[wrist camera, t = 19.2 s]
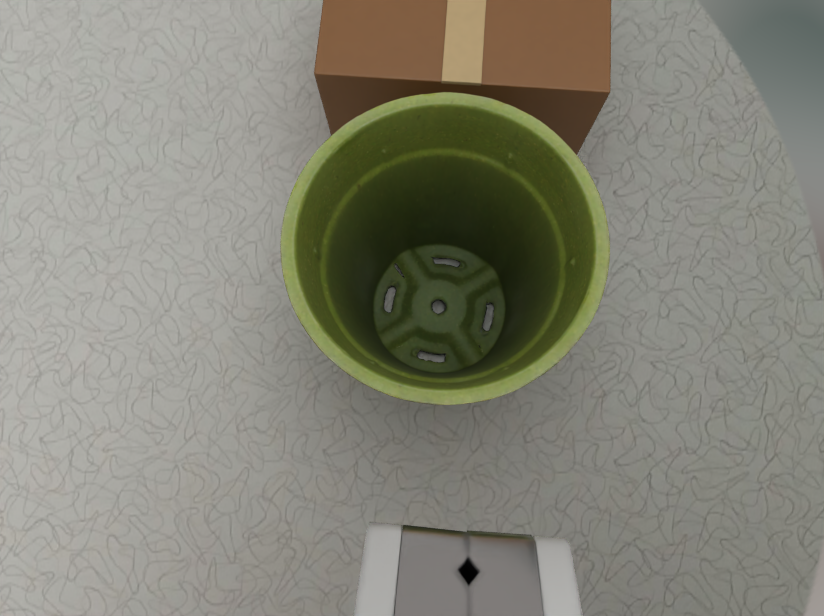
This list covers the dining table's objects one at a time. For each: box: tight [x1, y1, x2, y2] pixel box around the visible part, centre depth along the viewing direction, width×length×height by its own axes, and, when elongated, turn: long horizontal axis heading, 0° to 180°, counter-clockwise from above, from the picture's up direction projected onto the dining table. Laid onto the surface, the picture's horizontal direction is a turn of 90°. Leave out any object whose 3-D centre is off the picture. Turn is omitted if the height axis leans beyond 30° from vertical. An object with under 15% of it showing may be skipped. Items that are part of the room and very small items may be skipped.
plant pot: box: [281, 92, 610, 405], centre depth 28 cm, size 12×12×11 cm
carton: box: [314, 0, 611, 155], centre depth 31 cm, size 12×12×10 cm
